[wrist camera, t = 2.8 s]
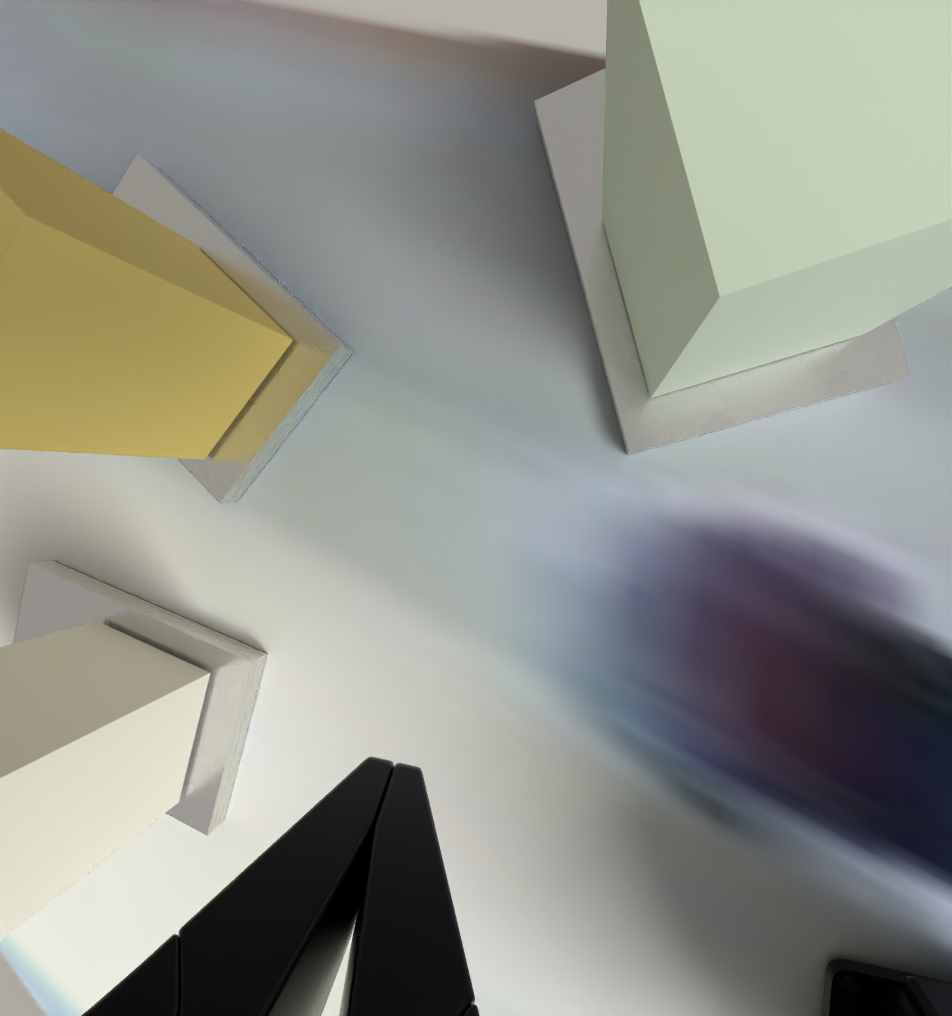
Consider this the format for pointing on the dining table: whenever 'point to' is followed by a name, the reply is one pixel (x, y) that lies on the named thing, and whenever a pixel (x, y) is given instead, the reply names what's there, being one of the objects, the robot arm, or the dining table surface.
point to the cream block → (85, 754)
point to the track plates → (320, 354)
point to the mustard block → (115, 323)
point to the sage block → (774, 174)
